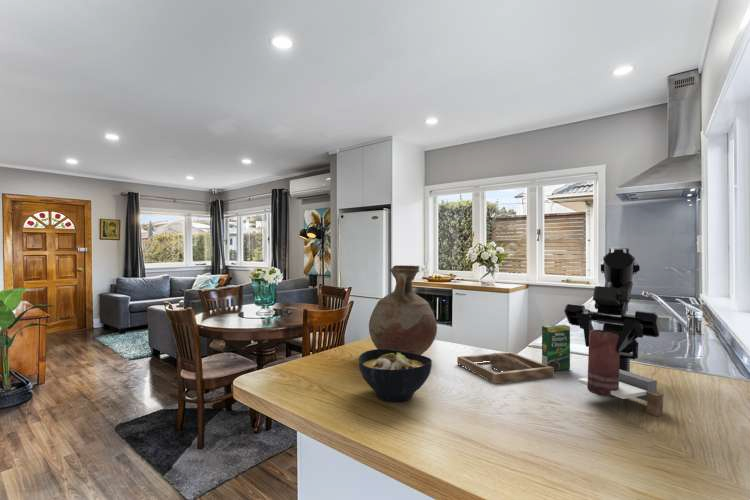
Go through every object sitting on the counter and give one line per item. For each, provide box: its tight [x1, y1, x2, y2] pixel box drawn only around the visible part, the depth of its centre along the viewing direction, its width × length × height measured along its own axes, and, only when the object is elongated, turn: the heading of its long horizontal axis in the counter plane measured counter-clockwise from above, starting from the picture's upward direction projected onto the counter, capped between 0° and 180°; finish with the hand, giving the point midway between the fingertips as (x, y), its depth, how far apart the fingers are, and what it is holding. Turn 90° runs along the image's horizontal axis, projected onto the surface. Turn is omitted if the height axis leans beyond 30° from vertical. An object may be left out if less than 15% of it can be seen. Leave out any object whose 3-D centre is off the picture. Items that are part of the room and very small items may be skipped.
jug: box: [368, 264, 438, 356], centre depth 118 cm, size 22×22×30 cm
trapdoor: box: [577, 369, 658, 402], centre depth 87 cm, size 12×12×4 cm
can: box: [586, 329, 620, 398], centre depth 85 cm, size 6×6×14 cm
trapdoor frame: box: [646, 392, 664, 417], centre depth 87 cm, size 2×16×4 cm, turn 21°
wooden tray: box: [456, 351, 555, 384], centre depth 109 cm, size 20×17×2 cm
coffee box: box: [541, 324, 571, 371], centre depth 112 cm, size 8×3×13 cm, turn 101°
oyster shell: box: [489, 352, 532, 372], centre depth 111 cm, size 10×12×5 cm
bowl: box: [358, 348, 433, 403], centre depth 88 cm, size 17×17×10 cm
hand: (601, 348), depth 84 cm, fingers closed on can, 6 cm apart
